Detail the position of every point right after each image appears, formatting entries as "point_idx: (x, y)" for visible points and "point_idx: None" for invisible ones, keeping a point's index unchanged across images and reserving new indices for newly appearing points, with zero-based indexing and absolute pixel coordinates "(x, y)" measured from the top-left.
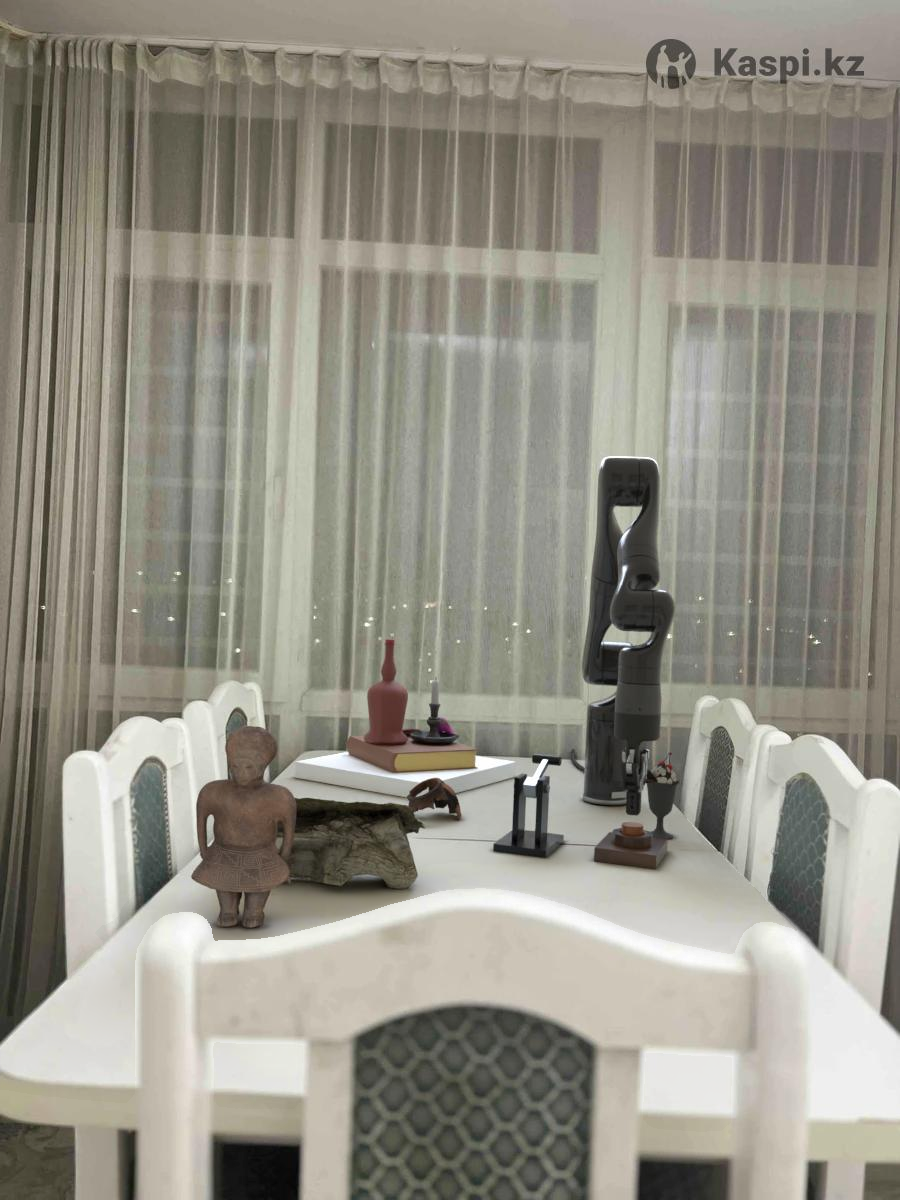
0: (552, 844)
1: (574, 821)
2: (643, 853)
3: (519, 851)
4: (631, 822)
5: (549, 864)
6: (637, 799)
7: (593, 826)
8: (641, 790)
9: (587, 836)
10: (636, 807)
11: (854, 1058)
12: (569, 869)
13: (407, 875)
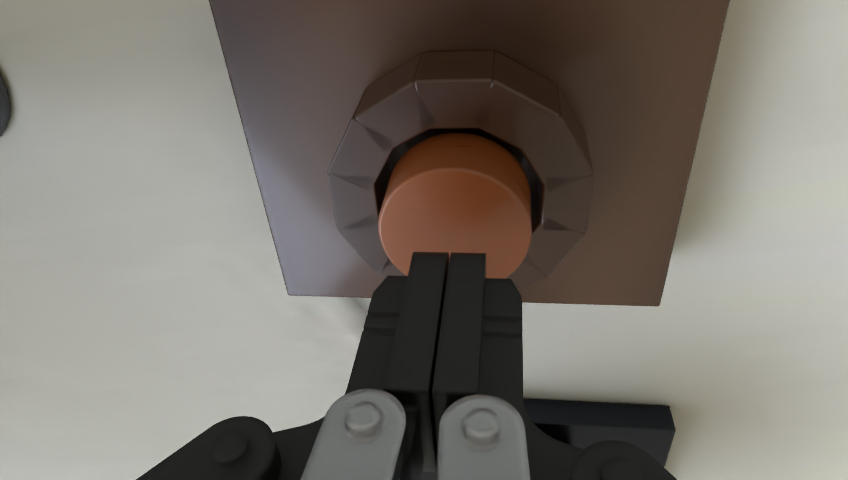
0: (562, 425)
1: (52, 399)
2: (710, 58)
3: None
4: (400, 249)
5: (769, 384)
6: (482, 358)
7: (57, 343)
8: (490, 415)
9: (230, 339)
10: (510, 309)
11: None
12: (838, 318)
13: None
